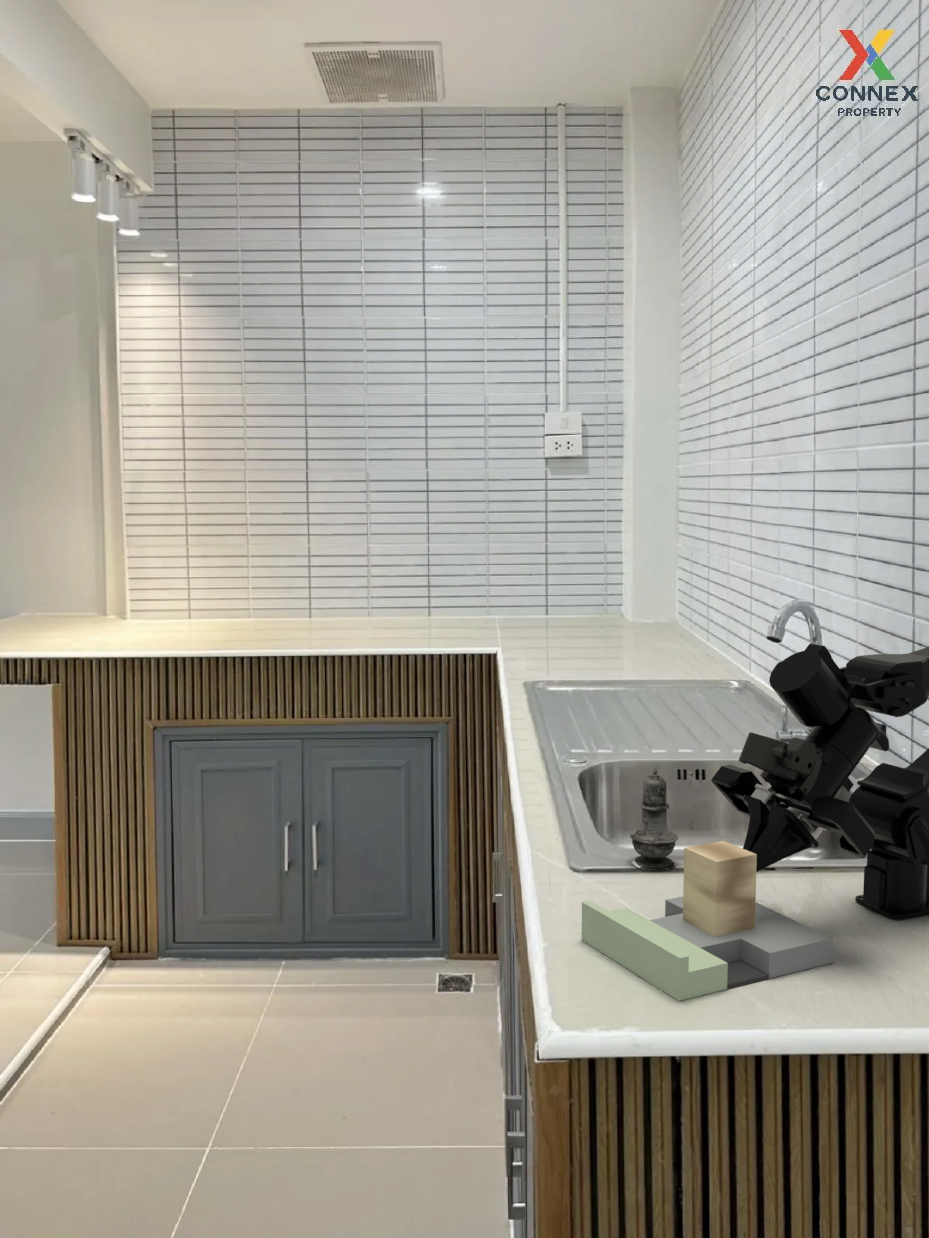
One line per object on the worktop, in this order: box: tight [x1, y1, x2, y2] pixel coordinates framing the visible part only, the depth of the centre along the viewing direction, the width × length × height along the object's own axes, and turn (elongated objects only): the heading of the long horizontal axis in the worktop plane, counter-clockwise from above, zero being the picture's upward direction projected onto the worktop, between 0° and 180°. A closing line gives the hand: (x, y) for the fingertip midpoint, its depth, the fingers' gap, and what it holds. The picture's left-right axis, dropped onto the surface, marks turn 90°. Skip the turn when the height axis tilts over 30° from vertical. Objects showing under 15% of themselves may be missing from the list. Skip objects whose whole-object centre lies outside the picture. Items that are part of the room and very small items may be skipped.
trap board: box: [581, 895, 834, 1002], centre depth 116 cm, size 18×16×4 cm
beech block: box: [682, 840, 757, 937], centre depth 116 cm, size 5×5×8 cm
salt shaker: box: [629, 767, 679, 872], centre depth 142 cm, size 6×6×12 cm
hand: (741, 872), depth 117 cm, fingers closed
